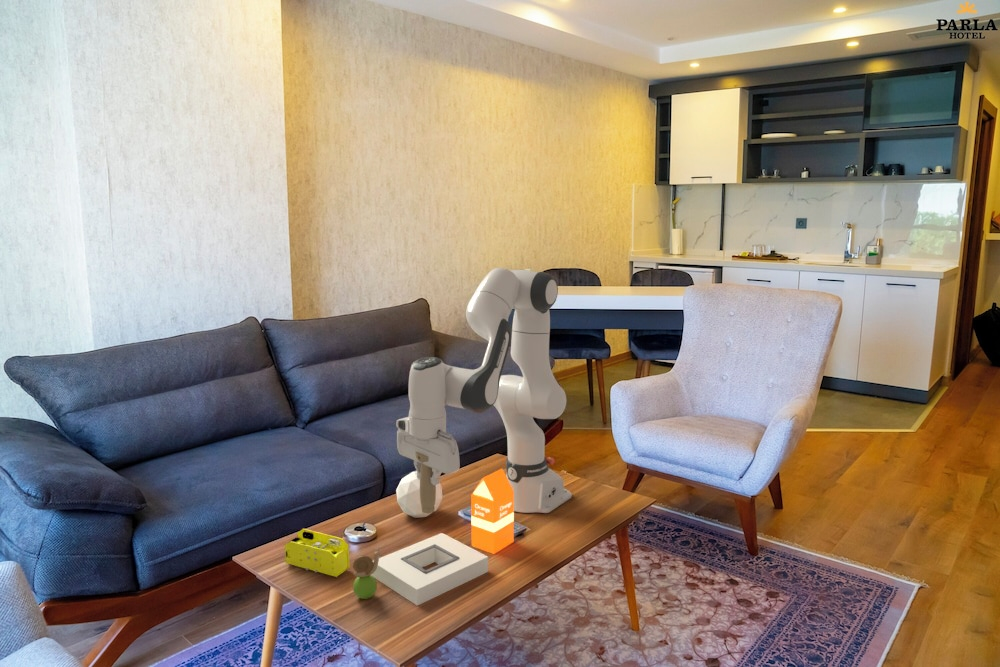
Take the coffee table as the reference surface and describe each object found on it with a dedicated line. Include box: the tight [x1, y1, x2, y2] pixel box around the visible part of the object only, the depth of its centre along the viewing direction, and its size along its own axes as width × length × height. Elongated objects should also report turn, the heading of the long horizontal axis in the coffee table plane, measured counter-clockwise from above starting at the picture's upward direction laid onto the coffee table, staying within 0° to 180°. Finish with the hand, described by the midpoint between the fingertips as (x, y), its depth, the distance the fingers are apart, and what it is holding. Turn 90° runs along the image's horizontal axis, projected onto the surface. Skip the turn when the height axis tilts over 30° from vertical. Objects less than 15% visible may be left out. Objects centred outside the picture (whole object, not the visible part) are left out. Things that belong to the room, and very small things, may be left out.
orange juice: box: [470, 468, 515, 555], centre depth 192 cm, size 8×9×20 cm
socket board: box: [371, 532, 489, 606], centre depth 178 cm, size 22×18×4 cm
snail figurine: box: [352, 546, 381, 600], centre depth 167 cm, size 5×6×12 cm
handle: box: [415, 451, 436, 514], centre depth 175 cm, size 5×6×15 cm
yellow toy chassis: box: [284, 528, 350, 578], centre depth 181 cm, size 16×6×8 cm, turn 65°
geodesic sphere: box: [395, 470, 444, 519], centre depth 210 cm, size 14×14×14 cm
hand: (428, 481), depth 175 cm, fingers closed on handle, 4 cm apart
